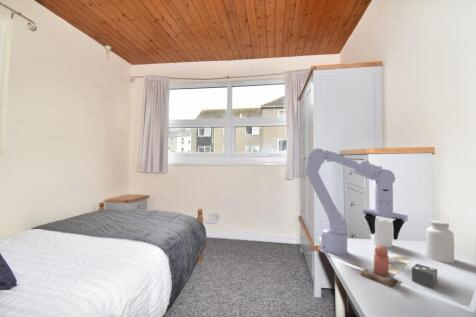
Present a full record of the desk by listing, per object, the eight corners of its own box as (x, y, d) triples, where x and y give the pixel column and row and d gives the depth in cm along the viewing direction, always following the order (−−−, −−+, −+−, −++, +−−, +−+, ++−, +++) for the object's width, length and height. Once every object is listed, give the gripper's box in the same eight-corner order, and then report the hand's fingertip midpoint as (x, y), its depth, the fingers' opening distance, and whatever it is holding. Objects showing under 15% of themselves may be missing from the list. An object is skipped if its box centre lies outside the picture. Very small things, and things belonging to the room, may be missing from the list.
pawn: (372, 272, 72) (372, 245, 73) (376, 269, 75) (376, 242, 75) (385, 278, 69) (386, 249, 70) (390, 274, 72) (390, 246, 72)
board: (360, 275, 73) (360, 271, 73) (391, 254, 90) (391, 251, 90) (392, 287, 66) (392, 283, 66) (418, 262, 83) (418, 259, 83)
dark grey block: (411, 284, 68) (411, 267, 68) (416, 279, 71) (416, 263, 71) (433, 291, 64) (433, 274, 64) (437, 286, 67) (437, 269, 67)
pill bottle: (425, 254, 90) (425, 218, 91) (453, 260, 85) (452, 221, 86) (426, 261, 84) (426, 222, 85) (455, 267, 79) (455, 226, 80)
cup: (386, 243, 103) (387, 217, 103) (399, 251, 94) (399, 223, 94) (366, 242, 104) (366, 217, 104) (376, 250, 95) (376, 222, 95)
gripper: (410, 202, 81) (410, 239, 81) (367, 197, 93) (367, 229, 92) (404, 204, 77) (404, 243, 77) (360, 198, 88) (360, 232, 88)
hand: (383, 236), depth 84 cm, fingers open, 7 cm apart
